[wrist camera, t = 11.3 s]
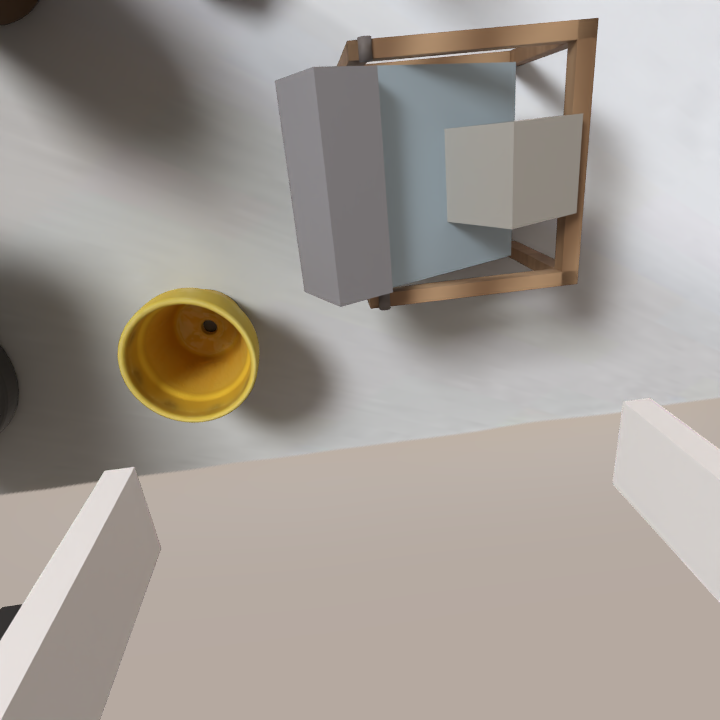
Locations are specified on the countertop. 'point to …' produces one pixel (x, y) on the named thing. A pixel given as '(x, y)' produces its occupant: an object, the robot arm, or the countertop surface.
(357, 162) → the trapdoor
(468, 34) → the trapdoor frame
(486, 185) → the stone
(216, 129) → the countertop surface
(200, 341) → the plant pot
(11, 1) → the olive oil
